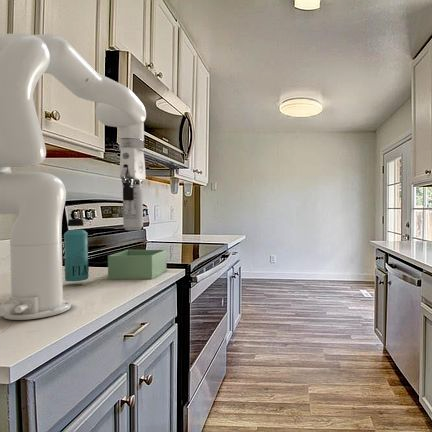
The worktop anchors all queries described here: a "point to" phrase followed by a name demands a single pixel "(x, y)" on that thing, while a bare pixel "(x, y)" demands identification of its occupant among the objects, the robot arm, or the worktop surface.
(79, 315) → the worktop surface
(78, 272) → the beverage bottle
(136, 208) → the energy drink can
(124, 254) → the green storage box
